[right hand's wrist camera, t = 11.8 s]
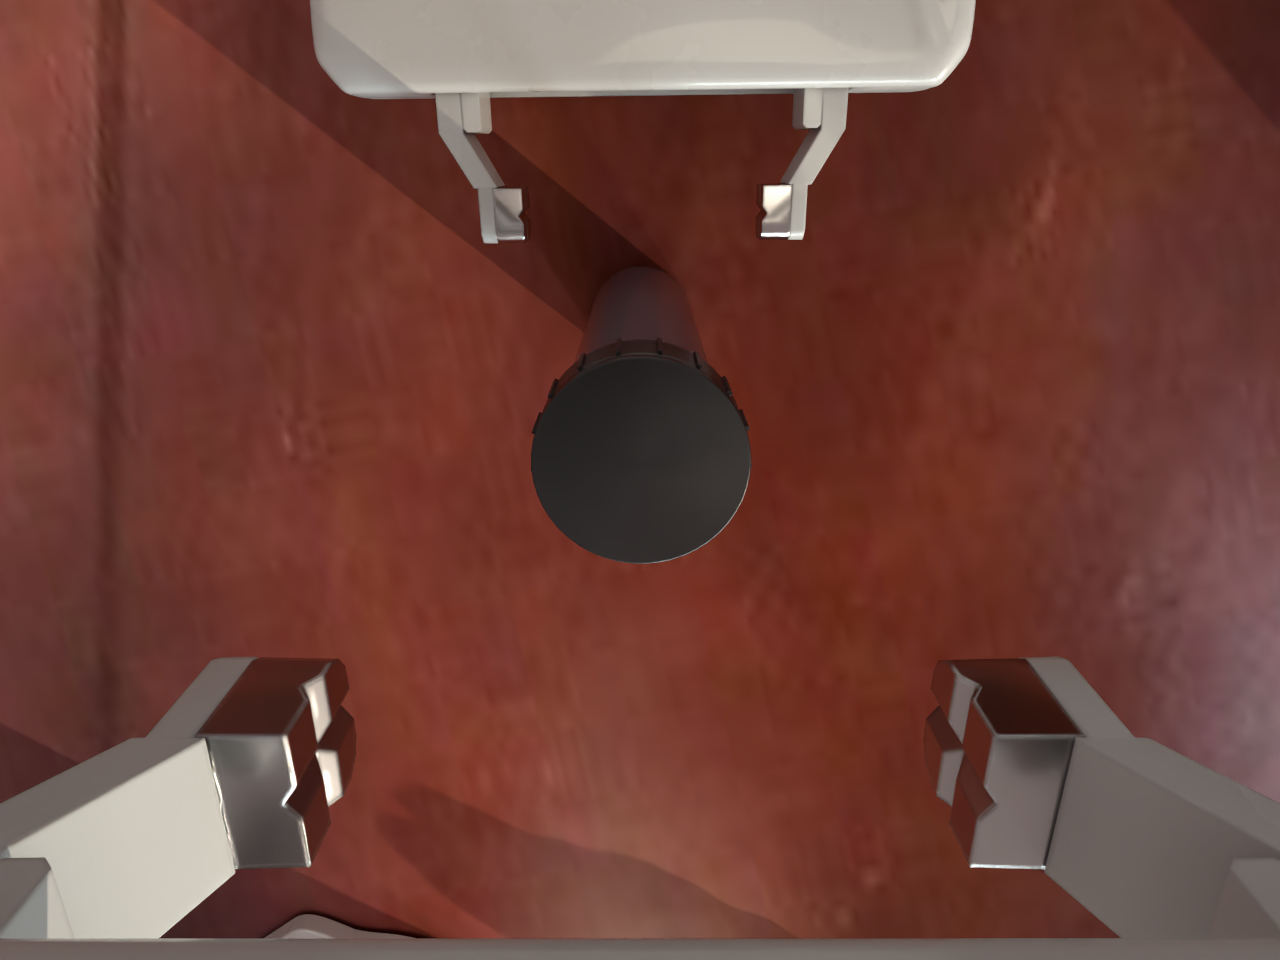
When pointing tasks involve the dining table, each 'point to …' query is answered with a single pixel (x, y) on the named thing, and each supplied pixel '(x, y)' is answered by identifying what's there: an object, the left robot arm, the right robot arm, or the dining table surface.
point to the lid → (641, 452)
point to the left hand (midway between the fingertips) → (642, 240)
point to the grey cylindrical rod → (641, 312)
